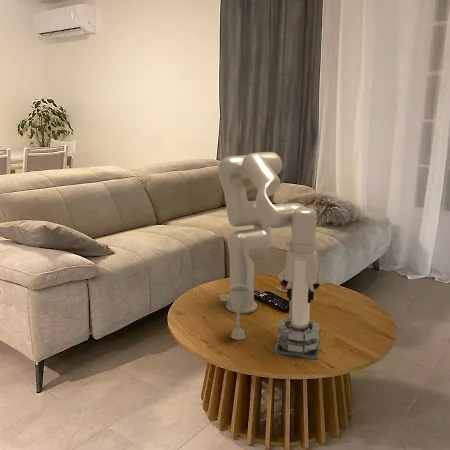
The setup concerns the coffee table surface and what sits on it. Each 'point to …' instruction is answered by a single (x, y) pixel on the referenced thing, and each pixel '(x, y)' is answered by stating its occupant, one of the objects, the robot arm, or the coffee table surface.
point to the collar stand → (298, 340)
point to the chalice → (238, 306)
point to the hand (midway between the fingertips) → (300, 299)
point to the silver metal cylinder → (299, 298)
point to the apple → (282, 287)
